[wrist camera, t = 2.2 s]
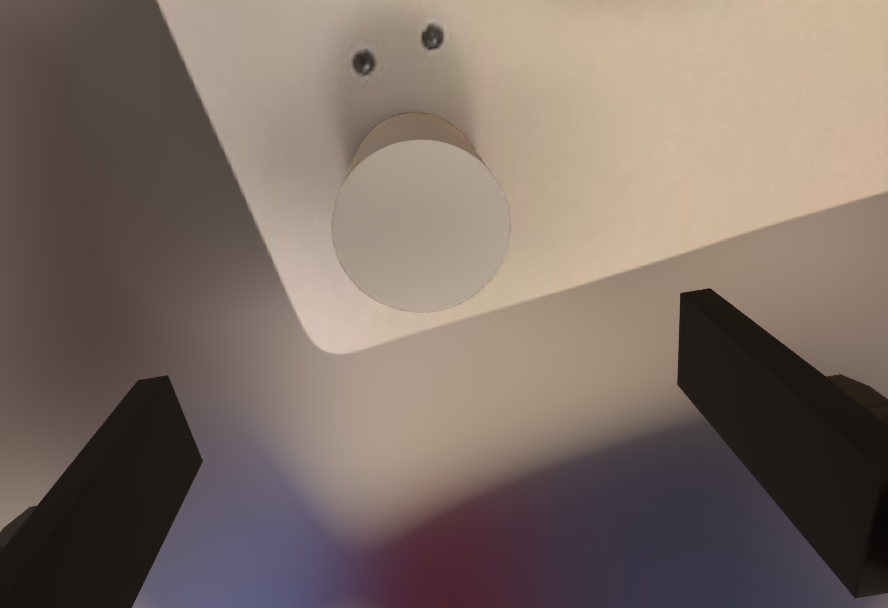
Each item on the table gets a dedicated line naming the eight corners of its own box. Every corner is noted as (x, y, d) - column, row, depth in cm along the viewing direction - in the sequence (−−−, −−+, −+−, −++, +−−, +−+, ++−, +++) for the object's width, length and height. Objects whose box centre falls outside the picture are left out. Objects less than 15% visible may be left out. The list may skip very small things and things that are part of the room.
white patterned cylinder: (348, 113, 35) (323, 141, 24) (479, 111, 35) (514, 138, 24) (357, 239, 38) (339, 315, 27) (476, 236, 39) (506, 309, 28)
